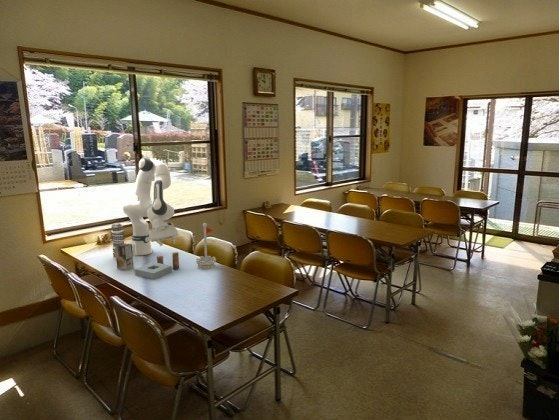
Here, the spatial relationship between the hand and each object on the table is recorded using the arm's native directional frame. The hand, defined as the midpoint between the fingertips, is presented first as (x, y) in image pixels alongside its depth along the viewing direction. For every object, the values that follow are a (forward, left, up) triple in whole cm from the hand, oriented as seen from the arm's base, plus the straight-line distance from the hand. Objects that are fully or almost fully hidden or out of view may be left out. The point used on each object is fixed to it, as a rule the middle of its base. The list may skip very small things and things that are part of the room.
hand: (168, 243), depth 272 cm
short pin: (-4, -4, -15) cm, 16 cm away
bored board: (+3, -17, -15) cm, 23 cm away
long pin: (+10, -4, -15) cm, 18 cm away
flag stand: (+24, +10, -15) cm, 30 cm away
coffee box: (-22, -18, -15) cm, 32 cm away
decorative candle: (-44, -4, -15) cm, 47 cm away
